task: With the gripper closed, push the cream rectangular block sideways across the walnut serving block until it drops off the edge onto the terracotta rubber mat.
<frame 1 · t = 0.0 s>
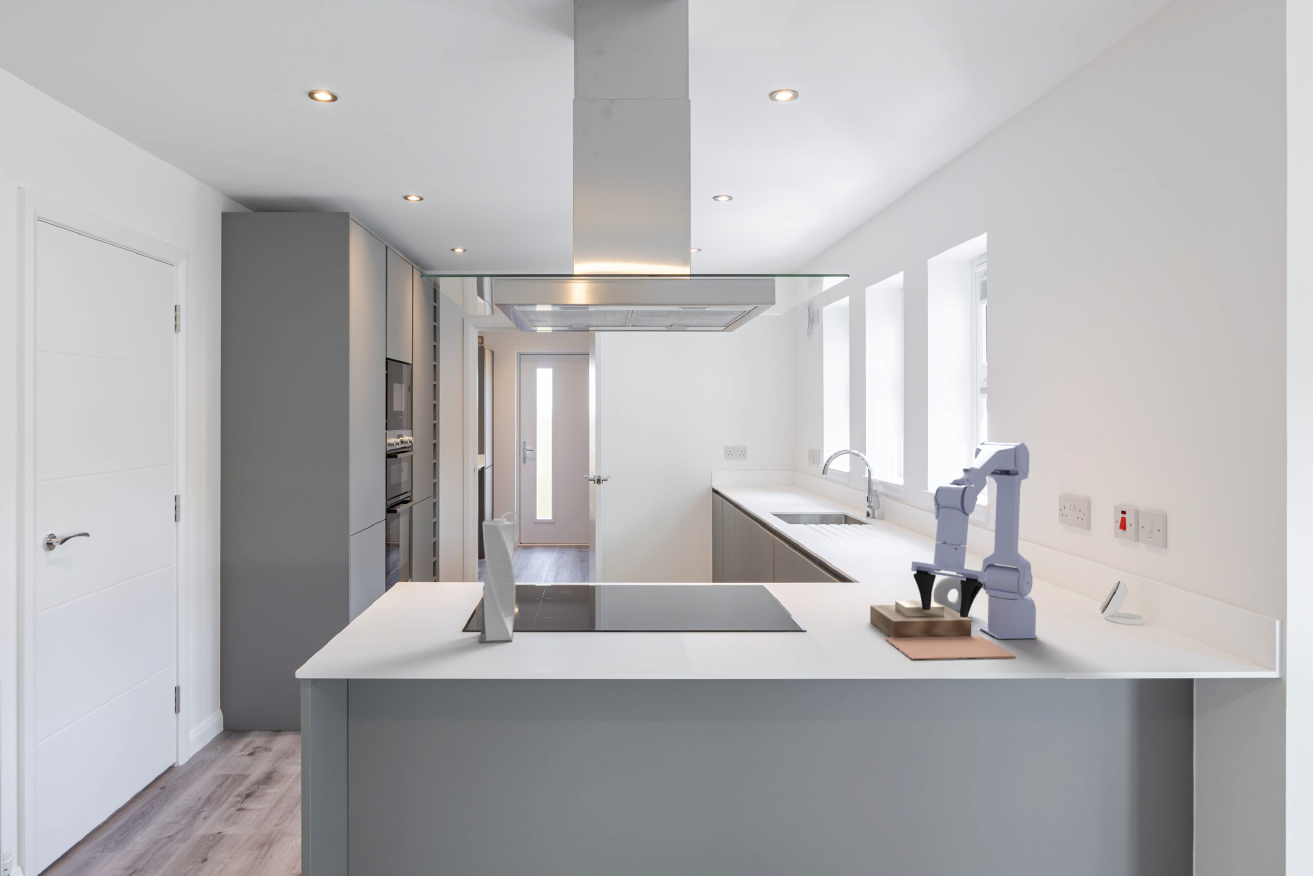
hand: (944, 613, 148), 11 cm above the countertop, tool pointing down, fingers open, 7 cm apart
skyscraper: (499, 639, 166), on the countertop
cream rectangular block: (919, 612, 174), point 4 cm above the countertop, touching serving block
mat: (947, 648, 160), on the countertop
serving block: (918, 629, 175), on the countertop
donut: (952, 615, 188), on the countertop
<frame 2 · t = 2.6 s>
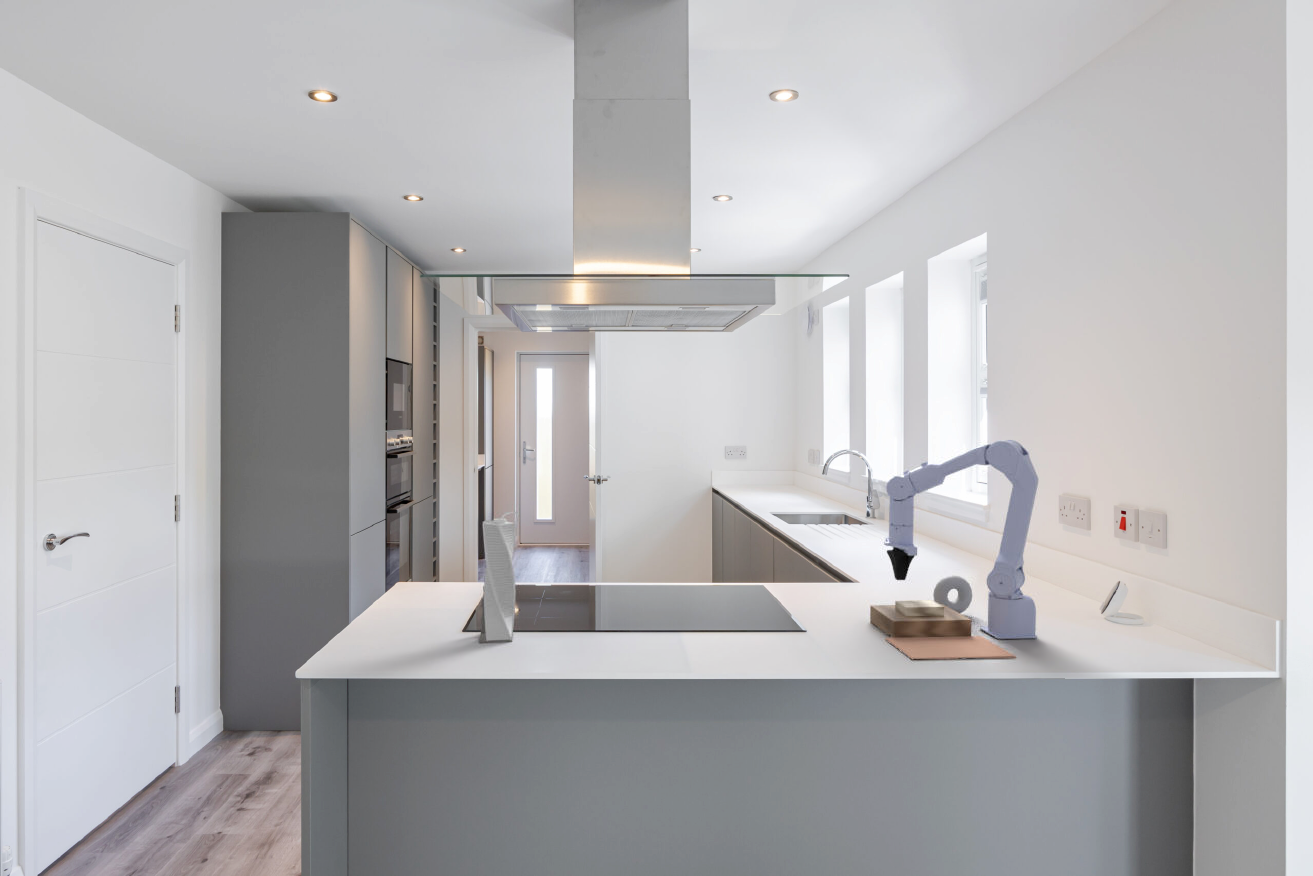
hand: (900, 579, 185), 9 cm above the countertop, tool pointing down, fingers closed
nothing on the countertop moved.
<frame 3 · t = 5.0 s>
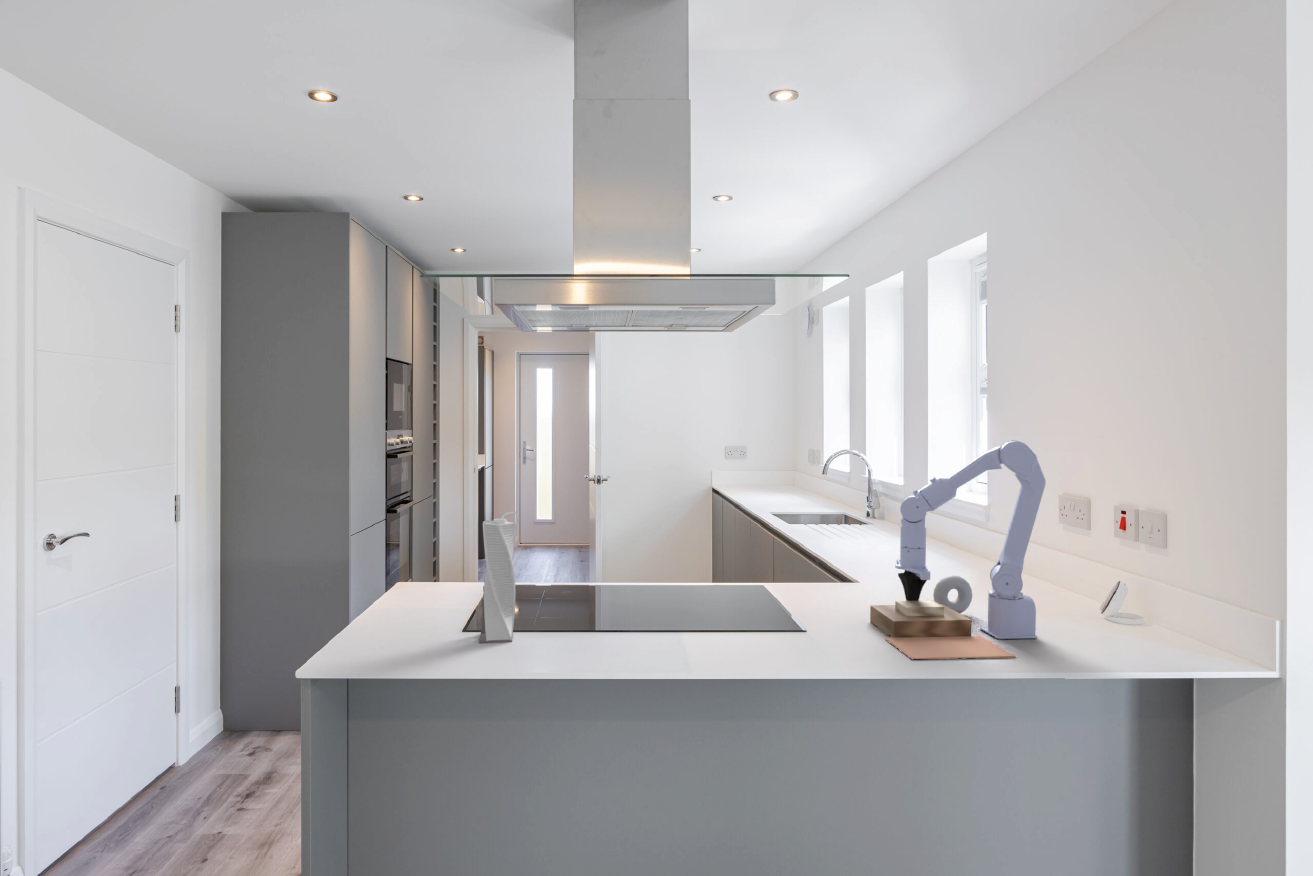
hand: (912, 604, 178), 5 cm above the countertop, tool pointing down, fingers closed
cream rectangular block: (919, 612, 174), point 4 cm above the countertop, touching gripper, serving block
everything else where it was.
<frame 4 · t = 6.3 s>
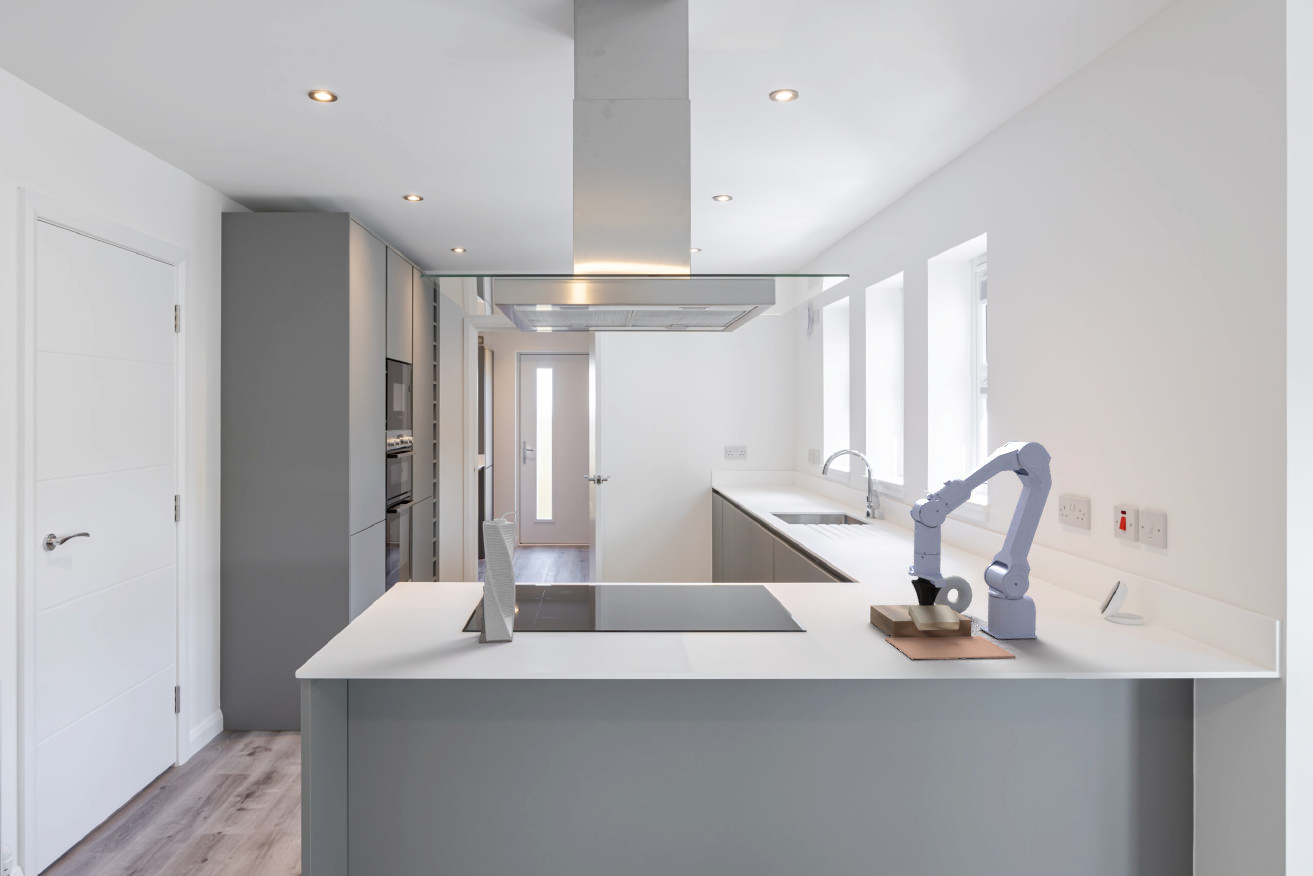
hand: (926, 612, 171), 5 cm above the countertop, tool pointing down, fingers closed
cream rectangular block: (932, 621, 167), point 4 cm above the countertop, tilted 22°, touching serving block
everything else where it was.
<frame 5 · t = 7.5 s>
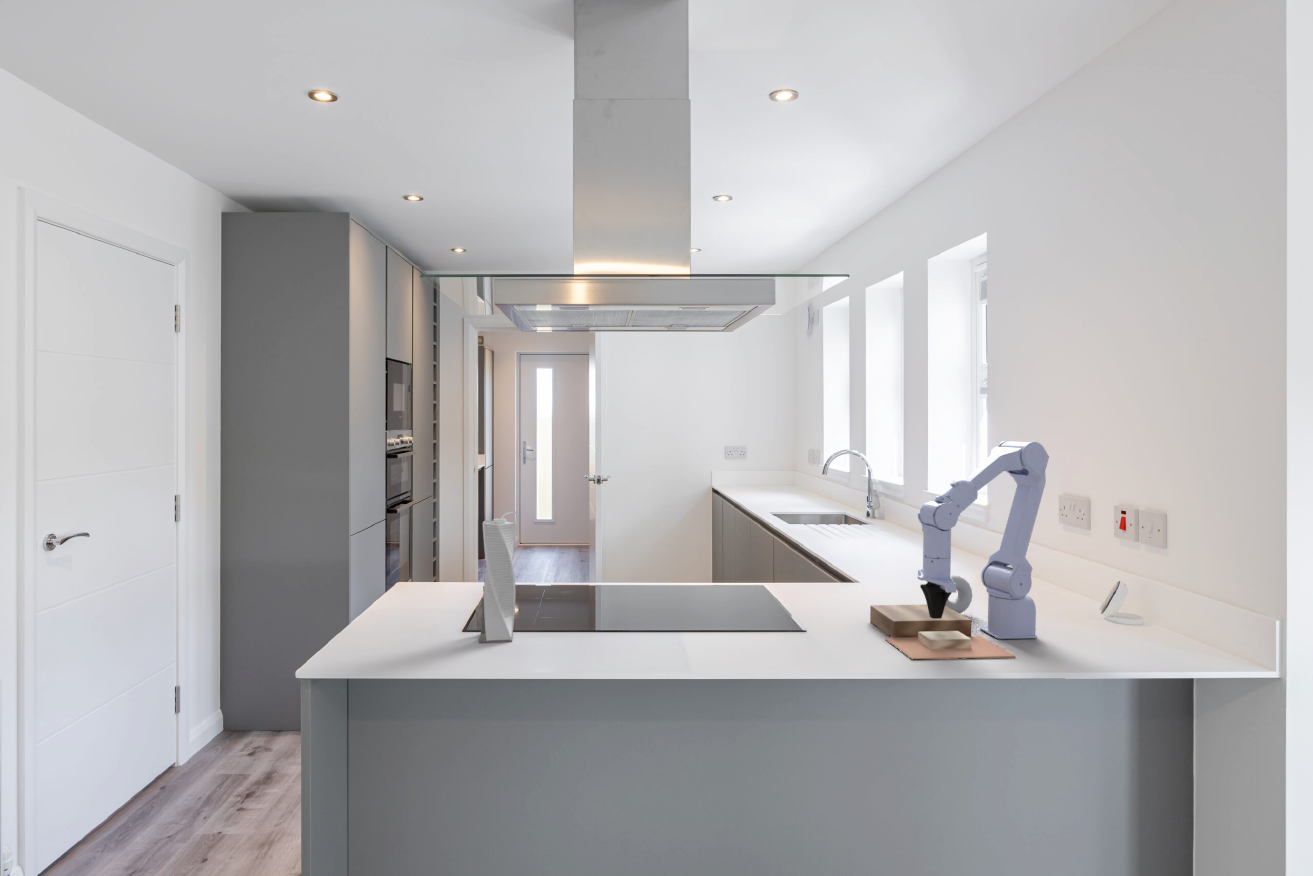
hand: (935, 617, 166), 5 cm above the countertop, tool pointing down, fingers closed
cream rectangular block: (944, 635, 162), point 2 cm above the countertop, tilted 180°, touching mat
everything else where it was.
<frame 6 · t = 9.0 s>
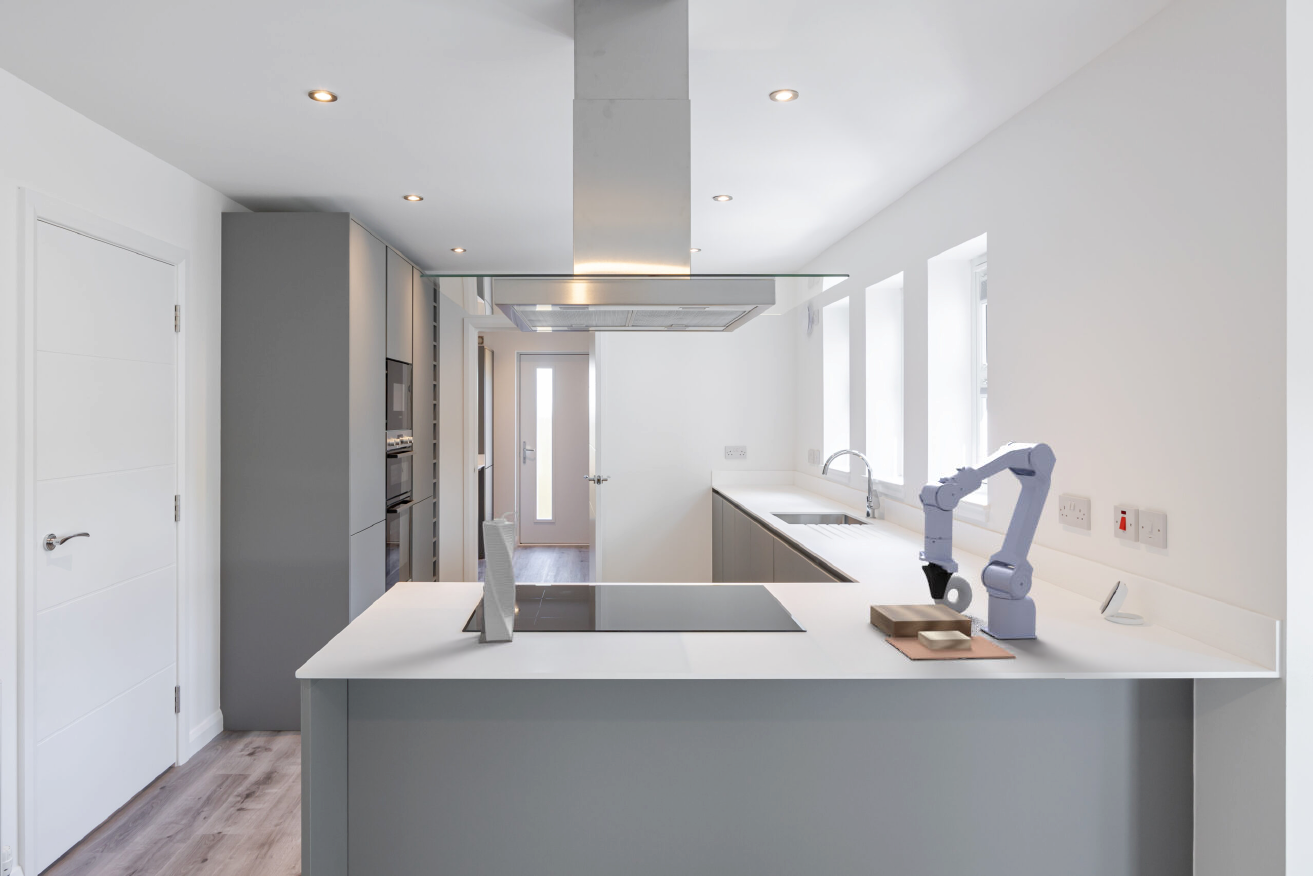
hand: (937, 598, 165), 9 cm above the countertop, tool pointing down, fingers closed
nothing on the countertop moved.
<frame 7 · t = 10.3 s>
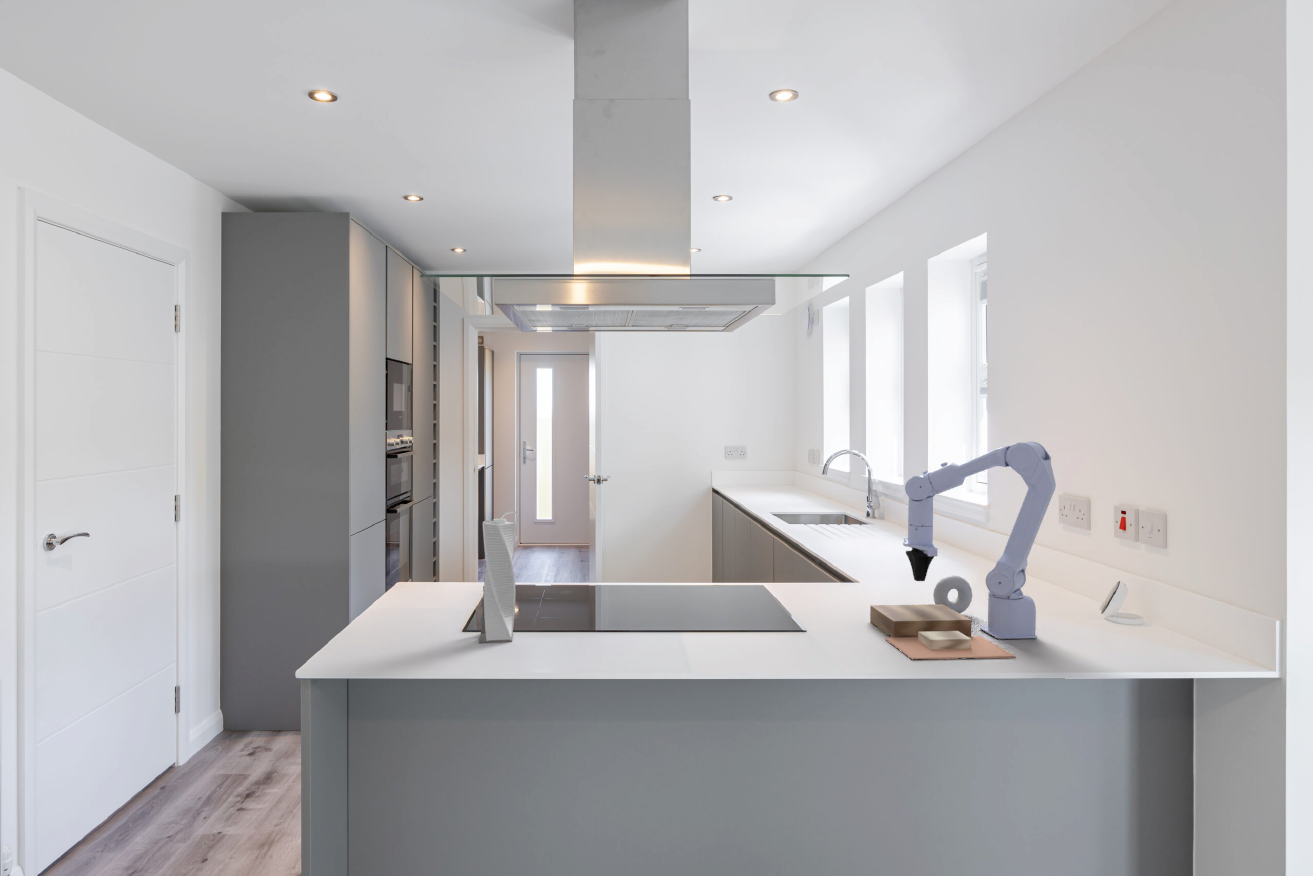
hand: (919, 580, 184), 9 cm above the countertop, tool pointing down, fingers closed
nothing on the countertop moved.
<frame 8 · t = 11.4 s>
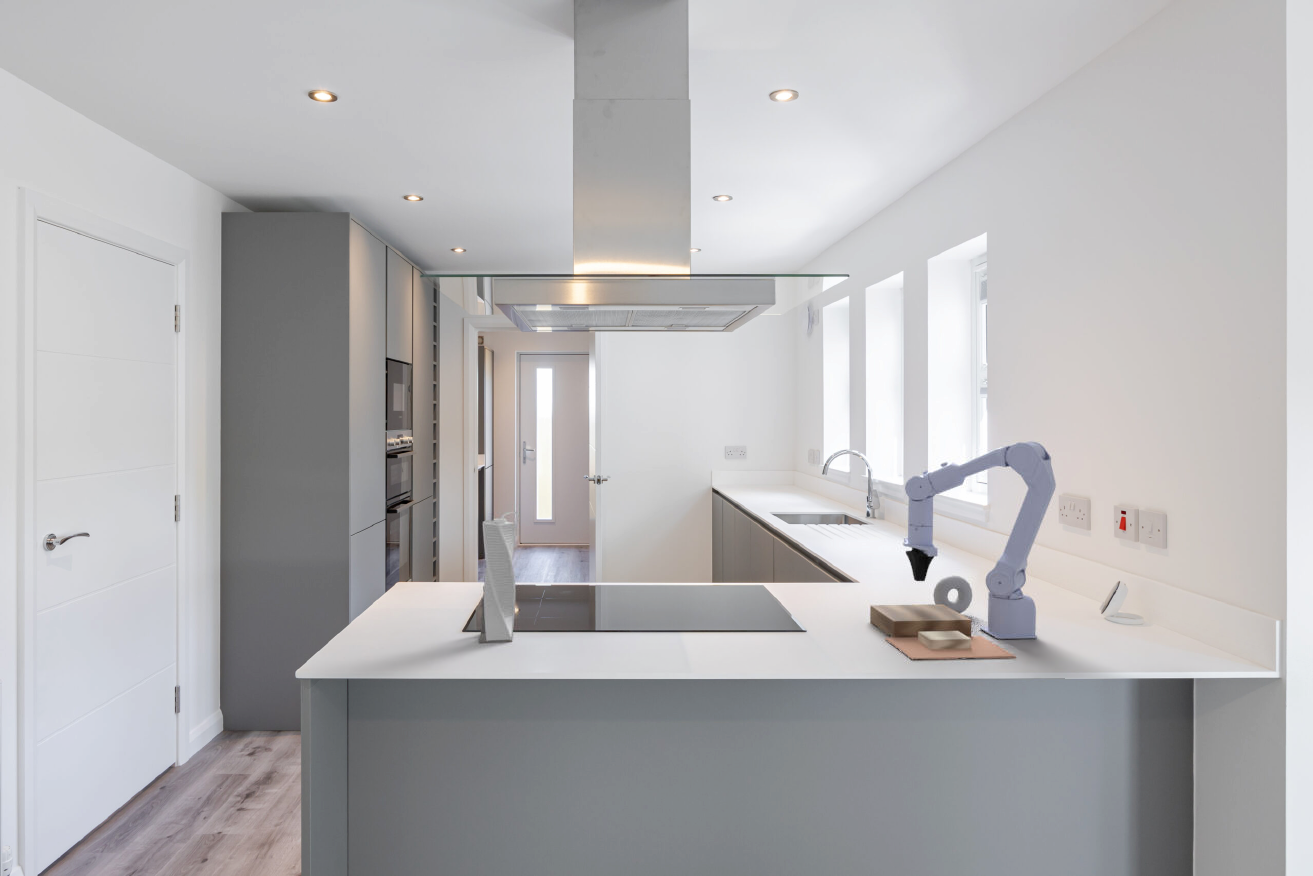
hand: (919, 580, 184), 9 cm above the countertop, tool pointing down, fingers closed
nothing on the countertop moved.
at the end: cream rectangular block point 2.4 cm above the countertop; cream rectangular block inside the target area on the mat (1.8 cm from its centre), point 2.4 cm above the mat's base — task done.
